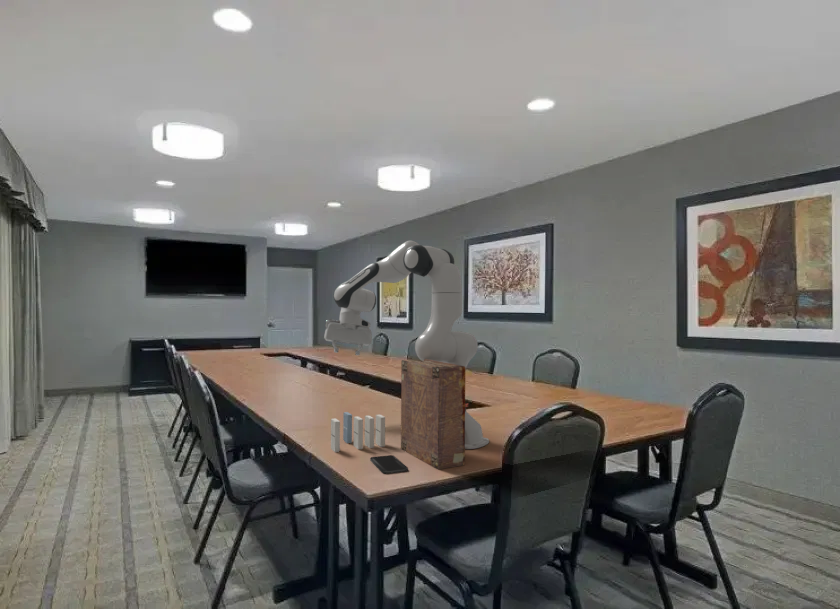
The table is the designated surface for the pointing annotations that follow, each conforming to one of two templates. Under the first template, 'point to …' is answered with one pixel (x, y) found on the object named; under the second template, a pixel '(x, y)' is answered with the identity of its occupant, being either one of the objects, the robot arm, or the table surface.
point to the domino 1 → (335, 435)
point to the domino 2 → (347, 427)
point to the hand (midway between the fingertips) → (346, 353)
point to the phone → (388, 464)
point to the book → (433, 412)
